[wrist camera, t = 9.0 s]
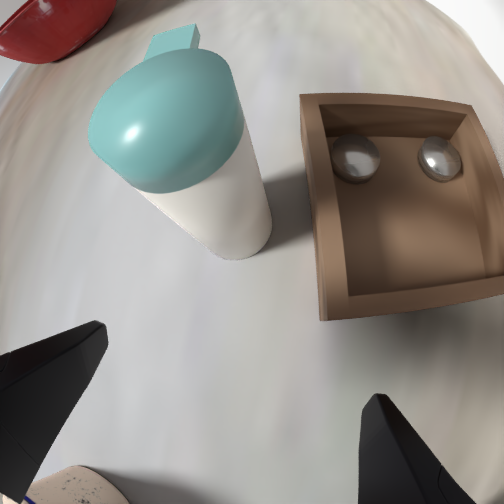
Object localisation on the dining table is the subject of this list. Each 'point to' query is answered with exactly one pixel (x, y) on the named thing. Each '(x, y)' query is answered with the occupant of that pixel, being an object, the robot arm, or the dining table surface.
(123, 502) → the teacup with lid
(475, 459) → the dining table surface
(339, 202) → the brown wooden tray
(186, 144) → the canister
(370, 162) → the grey metal puck
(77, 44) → the mixing bowl
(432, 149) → the silver metal disc
